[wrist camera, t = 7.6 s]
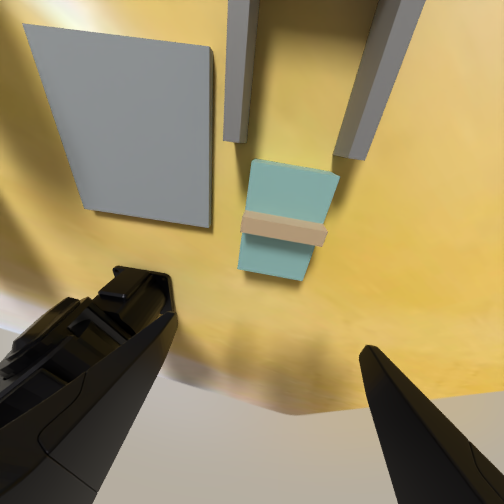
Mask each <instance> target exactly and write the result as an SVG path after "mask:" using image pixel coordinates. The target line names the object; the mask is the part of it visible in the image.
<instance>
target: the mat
mask: <svg viewBox="0 0 504 504" xmlns="http://www.w3.org/2000/svg"><path fill="white" fill-rule="evenodd" d="M22 24H23V23H22ZM23 27H24V30H25V33H26V36H27V39H28V42H29V45H30V48H31V51H32V54H33V57H34V60H35V63H36V66H37V69H38V72H39V75H40V78H41V81H42V84H43V87H44V90H45V93H46V96H47V99H48V102H49V105H50V108H51V111H52V114H53V117H54V120H55V123H56V126H57V129H58V132H59V135H60V138H61V141H62V144H63V147H64V150H65V153H66V156H67V159H68V162H69V165H70V167H71V170H72V173H73V176H74V179H75V182H76V185H77V188H78V191H79V194H80V197H81V200H82V203H83V206H84V209H89V210H96V211H102V212H109V213H115V214H122V215H128V216H135V217H141V218H148V219H154V220H161V221H167V222H174V223H180V224H187V225H193V226H200V227H206V228H209V227H210V226H211V195H212V107H213V51H212V50H211V48H210V47H209V46H201V45H193V44H185V43H176V42H168V41H160V40H152V39H144V38H136V37H128V36H120V35H112V34H104V33H96V32H88V31H80V30H71V29H63V28H55V27H47V26H39V25H31V24H23Z"/></svg>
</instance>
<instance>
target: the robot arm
mask: <svg viewBox="0 0 504 504" xmlns="http://www.w3.org/2000/svg"><path fill="white" fill-rule="evenodd" d="M113 273H114V276H115V278H114V279H113V280H111V281H110V282H109V283H108V284H107V285H105V286H104V287H103V288H102V289H101V290H100V291H99V292H98V295H97V296H96V297H95V298H94V299H93V300H92V299H91V298H89V297H86V298H84V299H82V300H78V299H74V298H70V297H67V298H65V299H63V300H62V301H61V302H59V303H58V304H57V305H55V306H54V307H53V308H51V309H50V310H49V311H47V312H46V313H45V314H44V315H42V316H41V317H40V318H39V319H38V320H36V321H35V322H34V323H33V324H32V325H31V326H30V327H29V328H27V329H26V330H25V331H24V332H23V333H22V334H21V335H20V336H19V337H17V338H16V339H15V340H14V341H13V345H12V350H11V351H10V352H9V353H8V355H7V356H6V357H5V358H4V359H3V360H2V361H1V362H0V504H92V503H93V501H94V499H95V497H96V495H97V492H98V491H99V489H100V487H101V485H102V483H103V481H104V479H105V477H106V476H107V474H108V471H109V470H110V468H111V466H112V464H113V462H114V460H115V458H116V456H117V454H118V452H119V449H120V448H121V446H122V444H123V442H124V440H125V438H126V436H127V434H128V432H129V430H130V428H131V426H132V424H133V422H134V420H135V418H136V416H137V414H138V412H139V410H140V408H141V406H142V405H143V403H144V401H145V398H146V397H147V394H148V393H149V391H150V389H151V387H152V385H153V383H154V381H155V379H156V377H157V375H158V373H159V371H160V369H161V367H162V365H163V363H164V361H165V358H166V356H167V353H168V351H169V348H170V346H171V343H172V340H173V338H174V335H175V333H176V330H177V327H178V319H177V313H176V312H174V308H173V301H172V293H171V285H170V277H169V275H168V274H165V273H160V272H154V271H148V270H141V269H135V268H129V267H123V266H115V267H114V268H113ZM159 314H163V315H162V316H160V317H159V318H157V317H158V315H159ZM156 318H157V319H156ZM359 362H360V367H361V373H362V378H363V383H364V388H365V392H366V397H367V400H368V404H369V407H370V411H371V414H372V417H373V421H374V424H375V427H376V431H377V434H378V438H379V441H380V444H381V447H382V451H383V454H384V458H385V461H386V464H387V468H388V471H389V474H390V478H391V481H392V484H393V488H394V491H395V495H396V498H397V501H398V504H504V475H503V474H502V473H501V472H500V471H499V470H498V469H497V468H496V467H495V466H494V465H493V464H492V463H491V462H490V461H489V460H488V459H487V458H486V457H485V456H484V455H483V454H482V453H481V452H480V451H479V450H478V449H477V448H476V447H475V446H474V445H473V444H472V443H471V442H470V441H468V439H467V438H466V437H465V436H464V435H463V434H462V433H461V432H460V431H459V430H458V429H457V428H456V427H455V426H454V424H453V423H452V422H450V420H449V419H448V418H446V416H445V415H444V414H442V412H441V411H440V410H439V409H438V408H437V407H436V406H435V405H434V404H433V403H432V402H431V401H430V400H429V399H428V398H427V397H426V396H425V395H424V394H423V393H422V392H421V391H420V390H419V389H418V388H417V387H416V386H415V385H414V384H413V383H412V382H411V381H410V380H409V379H408V378H407V377H406V376H405V375H404V374H403V373H402V372H401V371H400V369H399V368H398V367H397V366H396V365H395V364H394V363H393V362H392V361H391V360H390V359H389V358H388V357H387V356H386V355H385V354H384V353H383V352H382V351H381V350H380V349H379V348H378V347H376V346H373V345H366V346H365V347H364V349H363V350H362V352H361V353H360V355H359Z"/></svg>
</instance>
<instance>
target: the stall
mask: <svg viewBox="0 0 504 504" xmlns="http://www.w3.org/2000/svg"><path fill="white" fill-rule="evenodd" d="M425 1H426V0H379V2H378V5H377V8H376V12H375V15H374V18H373V22H372V25H371V28H370V32H369V35H368V39H367V42H366V45H365V49H364V52H363V55H362V59H361V62H360V65H359V69H358V72H357V75H356V79H355V82H354V85H353V89H352V92H351V95H350V99H349V102H348V106H347V109H346V112H345V116H344V119H343V122H342V126H341V129H340V132H339V136H338V139H337V142H336V146H335V149H334V152H333V155H335V156H340V157H345V158H351V159H358V160H365V159H366V156H367V153H368V151H369V148H370V146H371V143H372V140H373V138H374V135H375V132H376V130H377V127H378V124H379V122H380V119H381V117H382V114H383V111H384V109H385V106H386V103H387V101H388V98H389V96H390V93H391V90H392V88H393V85H394V82H395V80H396V77H397V74H398V72H399V69H400V67H401V64H402V61H403V59H404V56H405V53H406V51H407V48H408V46H409V43H410V40H411V38H412V35H413V32H414V30H415V27H416V24H417V22H418V19H419V17H420V14H421V11H422V9H423V6H424V3H425ZM259 2H260V0H228V19H227V46H226V74H225V101H224V129H223V141H229V142H236V143H247V134H248V123H249V112H250V101H251V90H252V79H253V68H254V57H255V46H256V35H257V24H258V13H259Z"/></svg>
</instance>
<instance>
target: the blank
mask: <svg viewBox="0 0 504 504" xmlns="http://www.w3.org/2000/svg"><path fill="white" fill-rule="evenodd" d="M339 179H340V176H338V175H336V174H334V173H332V172H330V171H324V170H318V169H313V168H307V167H301V166H295V165H290V164H284V163H278V162H272V161H267V160H261V159H254V160H253V161H252V163H251V171H250V178H249V186H248V193H247V201H246V208H245V212H244V214H243V216H242V223H241V231H240V232H242V238H241V246H240V253H239V261H238V268H237V269H240V270H245V271H251V272H256V273H261V274H267V275H272V276H278V277H283V278H288V279H294V280H299V281H303V278H304V275H305V273H306V270H307V267H308V264H309V262H310V259H311V256H312V253H313V250H314V248H315V246H320V247H322V246H323V243H324V241H325V238H326V235H327V233H328V231H327V230H326V228H325V226H324V225H323V223H324V220H325V217H326V215H327V212H328V209H329V206H330V204H331V201H332V198H333V195H334V192H335V190H336V187H337V184H338V181H339Z"/></svg>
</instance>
